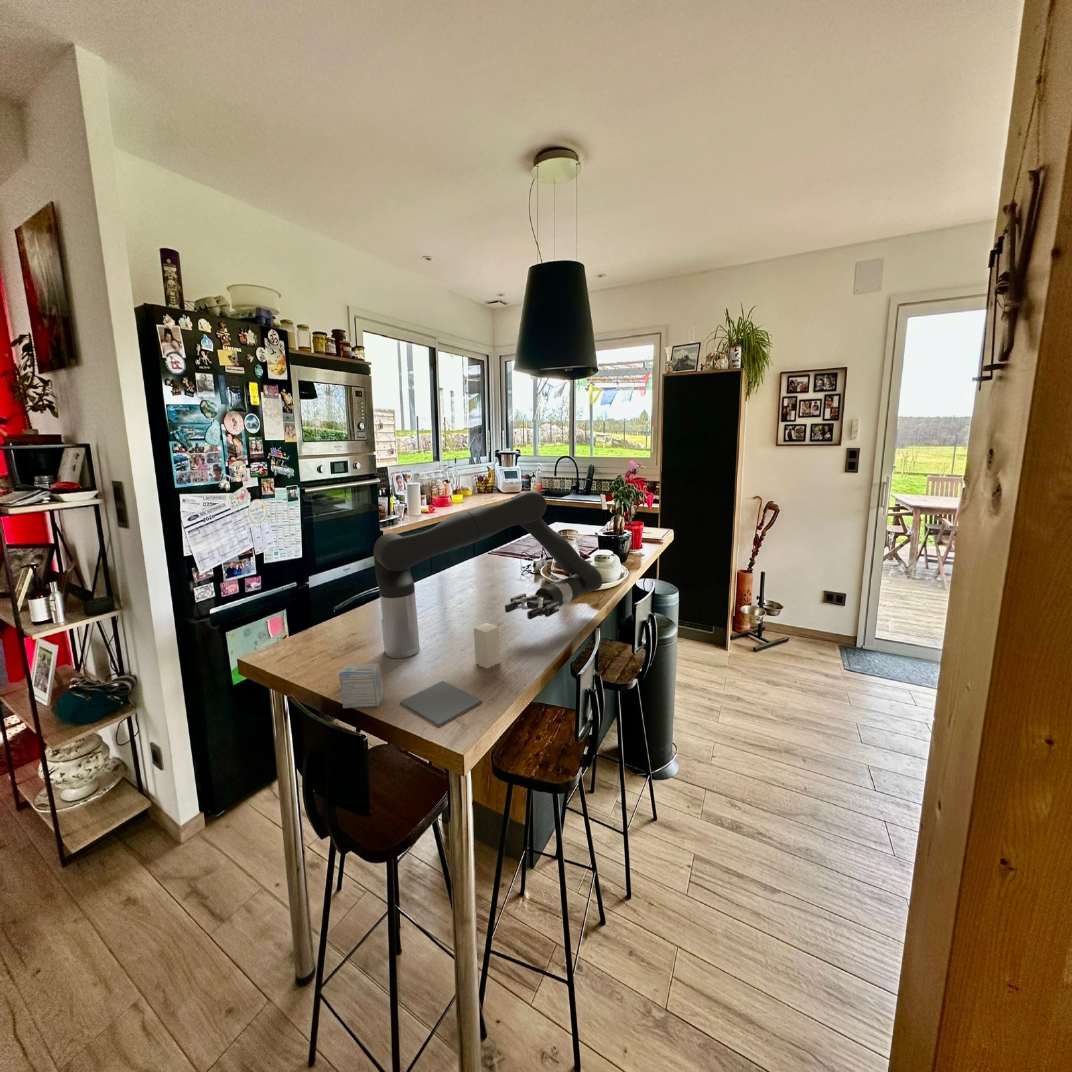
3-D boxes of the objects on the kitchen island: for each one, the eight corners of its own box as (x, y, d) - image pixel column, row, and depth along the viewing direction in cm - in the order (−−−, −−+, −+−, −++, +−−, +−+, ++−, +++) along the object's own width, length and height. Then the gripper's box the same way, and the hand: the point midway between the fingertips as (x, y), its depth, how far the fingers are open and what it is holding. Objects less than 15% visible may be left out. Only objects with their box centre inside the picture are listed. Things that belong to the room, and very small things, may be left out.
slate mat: (400, 703, 110) (400, 701, 110) (442, 682, 118) (442, 680, 118) (438, 727, 101) (438, 724, 100) (482, 702, 109) (481, 700, 109)
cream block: (475, 663, 128) (473, 628, 126) (488, 657, 131) (486, 622, 129) (487, 668, 125) (485, 632, 123) (500, 662, 128) (498, 626, 126)
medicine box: (383, 697, 113) (380, 662, 111) (378, 707, 109) (374, 671, 107) (349, 698, 113) (345, 663, 111) (342, 709, 108) (338, 673, 106)
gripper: (535, 579, 150) (497, 594, 138) (572, 588, 140) (535, 604, 129) (536, 603, 151) (499, 619, 140) (573, 612, 142) (536, 631, 130)
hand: (516, 612), depth 134 cm, fingers open, 8 cm apart
